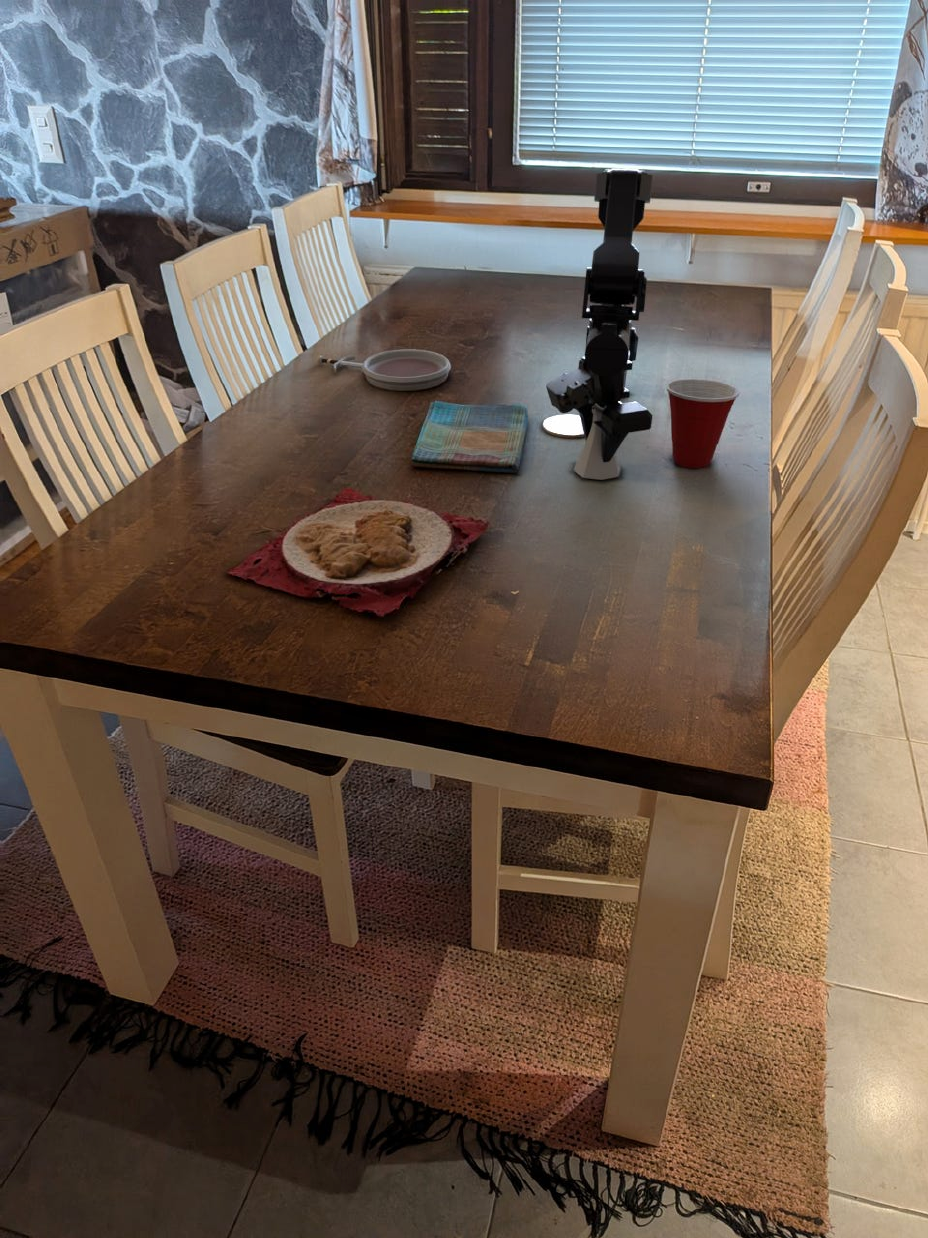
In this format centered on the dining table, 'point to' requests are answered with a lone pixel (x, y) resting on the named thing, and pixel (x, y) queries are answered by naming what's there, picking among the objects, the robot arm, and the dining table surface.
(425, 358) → the frying pan
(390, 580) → the plate with food
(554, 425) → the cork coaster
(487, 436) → the dish towel
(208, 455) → the dining table surface
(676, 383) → the plastic cup
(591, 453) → the flask
